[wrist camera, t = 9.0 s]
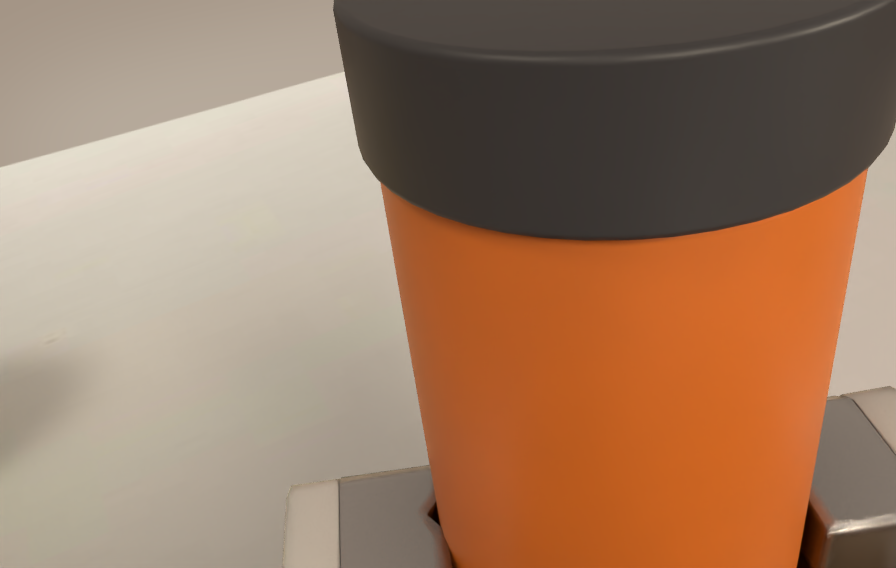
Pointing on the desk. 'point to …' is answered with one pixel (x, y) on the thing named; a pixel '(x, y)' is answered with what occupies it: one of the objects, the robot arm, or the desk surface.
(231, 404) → the desk surface
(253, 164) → the desk surface
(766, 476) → the marker
